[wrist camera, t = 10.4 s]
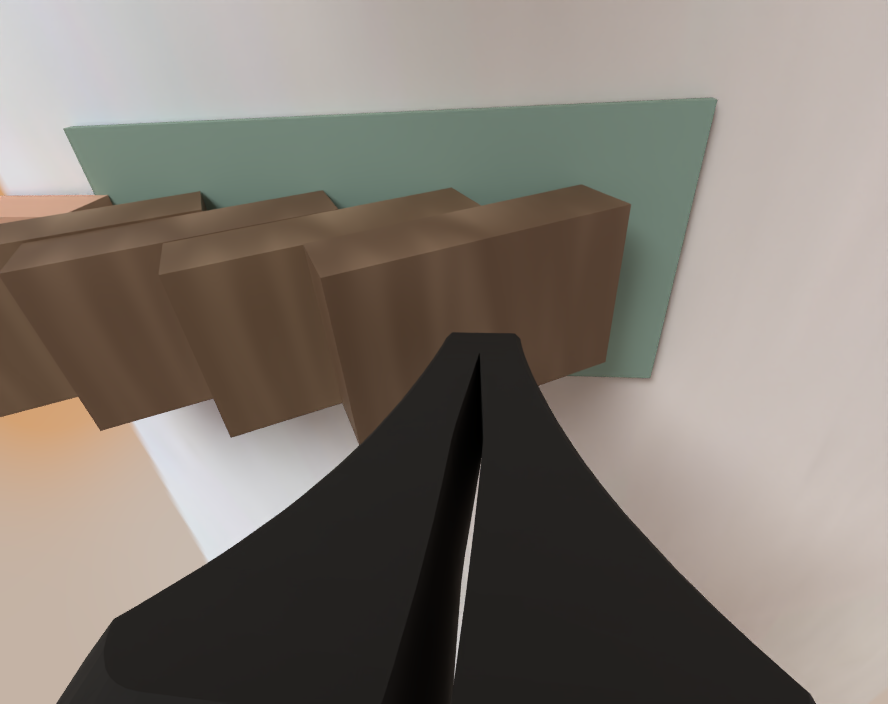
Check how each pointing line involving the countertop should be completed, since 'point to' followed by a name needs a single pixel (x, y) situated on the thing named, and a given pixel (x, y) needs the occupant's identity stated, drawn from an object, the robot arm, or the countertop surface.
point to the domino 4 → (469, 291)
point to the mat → (443, 174)
